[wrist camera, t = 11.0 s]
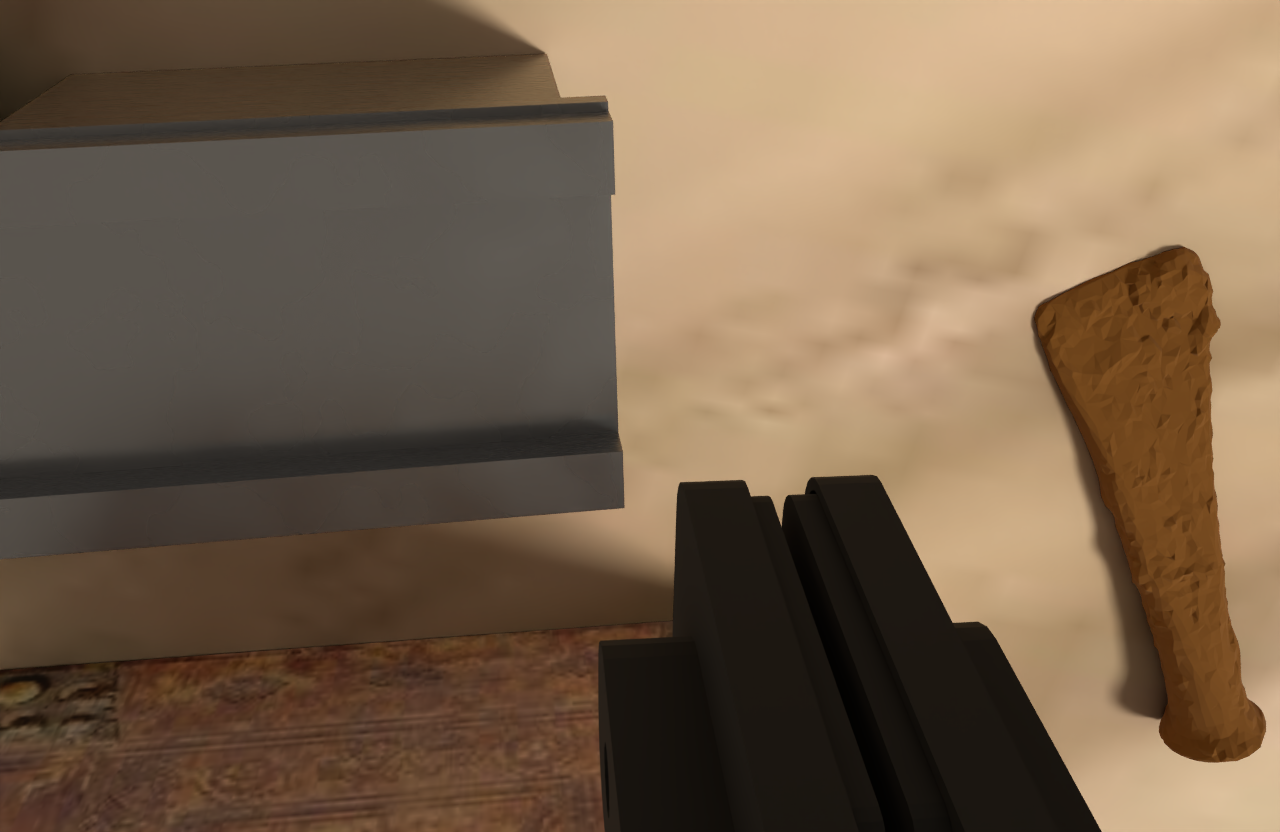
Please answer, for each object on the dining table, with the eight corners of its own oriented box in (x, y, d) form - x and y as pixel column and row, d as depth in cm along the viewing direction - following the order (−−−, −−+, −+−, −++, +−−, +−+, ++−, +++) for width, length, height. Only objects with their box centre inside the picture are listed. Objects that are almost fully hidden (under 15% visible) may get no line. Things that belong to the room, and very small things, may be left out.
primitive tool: (1024, 303, 37) (1075, 348, 34) (1191, 229, 37) (1259, 268, 34) (1144, 727, 46) (1193, 794, 43) (1280, 671, 46) (1339, 734, 43)
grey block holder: (-96, 81, 30) (-243, 152, 24) (584, 52, 32) (612, 111, 26) (6, 436, 35) (-94, 574, 28) (598, 394, 36) (624, 514, 30)
